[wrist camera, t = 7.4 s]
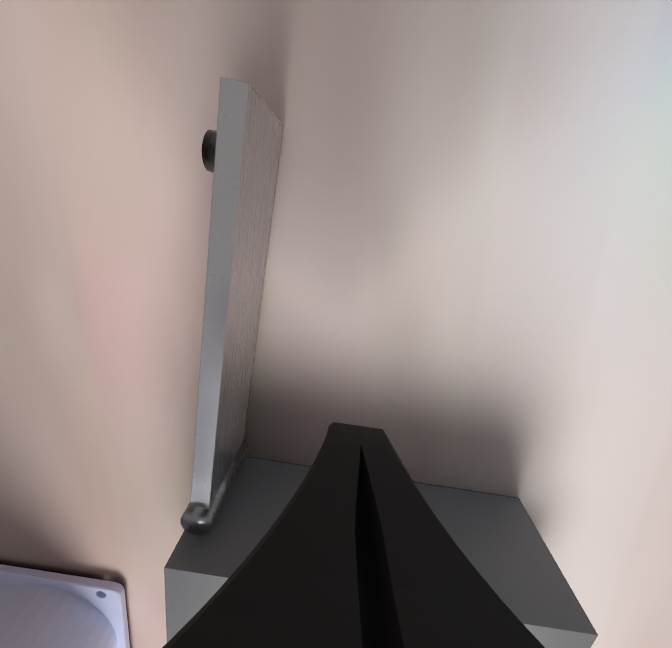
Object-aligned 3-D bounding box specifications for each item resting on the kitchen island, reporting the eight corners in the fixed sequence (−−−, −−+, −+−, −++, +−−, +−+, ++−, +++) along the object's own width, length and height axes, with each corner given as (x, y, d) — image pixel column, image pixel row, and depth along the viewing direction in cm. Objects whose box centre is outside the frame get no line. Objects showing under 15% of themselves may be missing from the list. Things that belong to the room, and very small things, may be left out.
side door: (246, 457, 14) (210, 537, 11) (210, 449, 14) (161, 528, 11) (290, 127, 10) (256, 81, 7) (239, 116, 10) (178, 65, 7)
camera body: (220, 582, 17) (159, 750, 12) (225, 453, 15) (150, 593, 9) (504, 626, 17) (573, 816, 12) (560, 504, 15) (680, 675, 9)
